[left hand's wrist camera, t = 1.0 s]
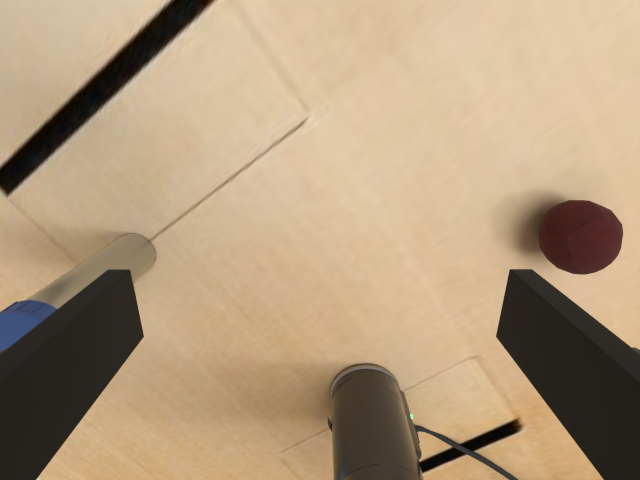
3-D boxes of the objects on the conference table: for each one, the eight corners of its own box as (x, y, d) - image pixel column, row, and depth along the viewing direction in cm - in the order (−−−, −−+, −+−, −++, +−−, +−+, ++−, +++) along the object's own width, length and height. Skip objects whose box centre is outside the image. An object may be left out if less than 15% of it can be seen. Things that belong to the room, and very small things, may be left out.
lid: (38, 287, 27) (19, 299, 25) (90, 339, 28) (75, 354, 27) (-13, 320, 28) (-34, 334, 26) (41, 368, 29) (24, 385, 28)
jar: (137, 225, 41) (24, 301, 26) (164, 258, 43) (74, 349, 27) (105, 246, 42) (-22, 331, 26) (133, 277, 44) (28, 376, 28)
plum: (540, 267, 43) (580, 297, 36) (514, 215, 41) (551, 237, 34) (601, 235, 42) (654, 260, 35) (578, 179, 39) (630, 194, 33)
